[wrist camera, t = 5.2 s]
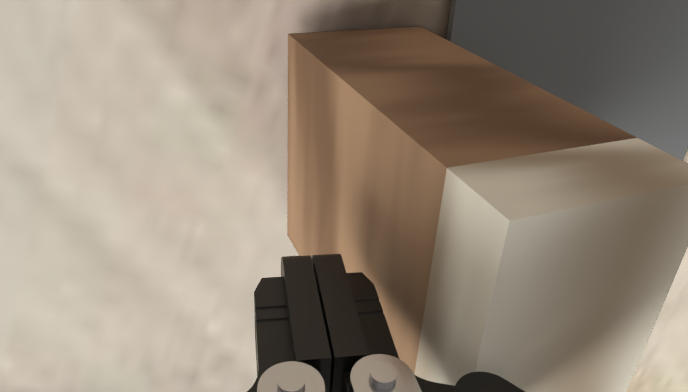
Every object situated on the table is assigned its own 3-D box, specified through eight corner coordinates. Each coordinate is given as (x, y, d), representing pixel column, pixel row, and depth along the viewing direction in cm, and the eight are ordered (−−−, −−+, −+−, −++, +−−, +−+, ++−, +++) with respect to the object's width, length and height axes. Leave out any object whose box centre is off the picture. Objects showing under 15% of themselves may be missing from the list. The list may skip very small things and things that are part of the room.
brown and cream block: (287, 235, 23) (443, 505, 14) (288, 33, 19) (509, 220, 10) (398, 214, 25) (604, 441, 16) (420, 26, 21) (716, 178, 12)
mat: (413, 269, 27) (416, 276, 26) (460, -63, 20) (465, -62, 19) (638, 254, 29) (644, 260, 28) (753, -53, 22) (764, -51, 21)
